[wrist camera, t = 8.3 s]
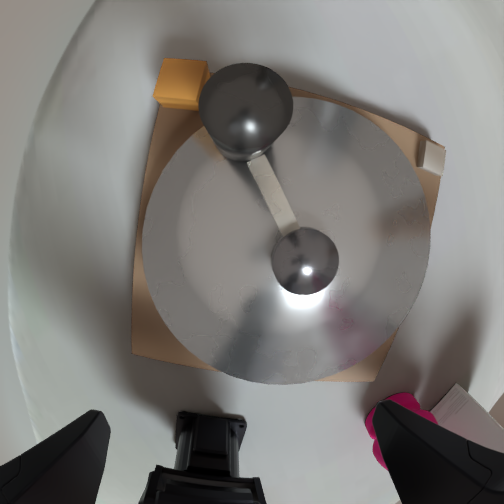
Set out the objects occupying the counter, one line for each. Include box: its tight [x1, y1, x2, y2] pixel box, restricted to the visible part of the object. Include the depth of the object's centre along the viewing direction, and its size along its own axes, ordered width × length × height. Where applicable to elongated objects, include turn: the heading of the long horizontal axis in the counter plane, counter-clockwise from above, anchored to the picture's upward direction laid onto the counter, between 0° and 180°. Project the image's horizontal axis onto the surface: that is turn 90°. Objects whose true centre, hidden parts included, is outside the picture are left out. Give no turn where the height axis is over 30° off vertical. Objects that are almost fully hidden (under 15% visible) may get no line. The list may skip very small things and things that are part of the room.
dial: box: [142, 63, 430, 385], centre depth 14 cm, size 18×18×8 cm
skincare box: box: [430, 383, 504, 453], centre depth 18 cm, size 8×6×15 cm
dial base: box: [131, 58, 446, 382], centre depth 17 cm, size 20×20×4 cm
